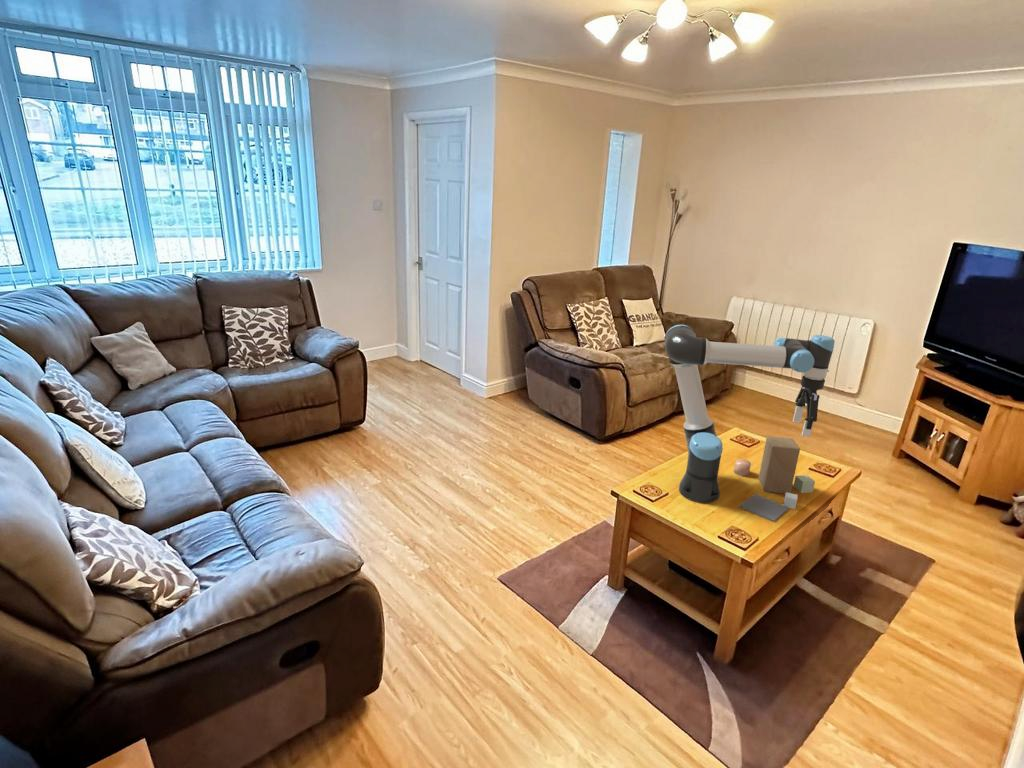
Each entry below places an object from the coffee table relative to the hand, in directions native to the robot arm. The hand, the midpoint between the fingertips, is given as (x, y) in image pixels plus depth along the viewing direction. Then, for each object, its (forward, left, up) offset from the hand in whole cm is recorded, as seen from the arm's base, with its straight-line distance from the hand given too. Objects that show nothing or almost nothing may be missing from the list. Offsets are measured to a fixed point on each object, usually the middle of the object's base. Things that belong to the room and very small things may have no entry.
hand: (800, 429), depth 209 cm
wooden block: (-5, 0, -26) cm, 27 cm away
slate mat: (-12, -18, -26) cm, 34 cm away
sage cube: (+6, +1, -26) cm, 27 cm away
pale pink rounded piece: (-16, +9, -26) cm, 32 cm away
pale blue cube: (-2, -13, -26) cm, 29 cm away
